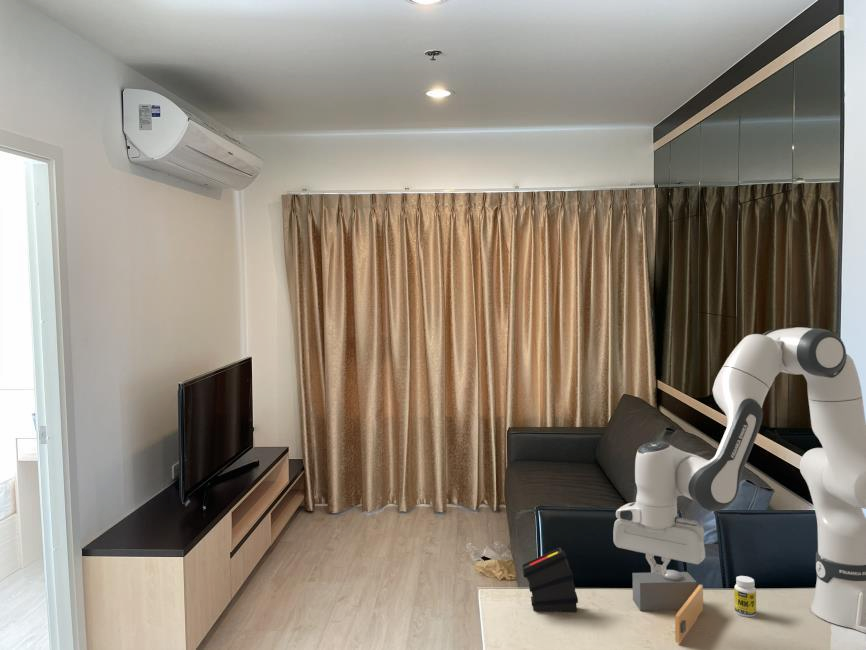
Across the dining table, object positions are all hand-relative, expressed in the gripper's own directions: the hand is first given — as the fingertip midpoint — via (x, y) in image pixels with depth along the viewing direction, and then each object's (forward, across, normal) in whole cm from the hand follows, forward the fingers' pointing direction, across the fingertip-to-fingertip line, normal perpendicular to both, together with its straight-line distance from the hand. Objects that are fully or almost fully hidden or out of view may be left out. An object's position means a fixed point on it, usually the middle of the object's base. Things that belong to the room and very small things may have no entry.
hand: (658, 573), depth 148 cm
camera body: (+14, +5, -15) cm, 21 cm away
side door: (+14, -4, -8) cm, 16 cm away
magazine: (+14, +26, +4) cm, 30 cm away
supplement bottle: (+15, -12, -22) cm, 30 cm away
